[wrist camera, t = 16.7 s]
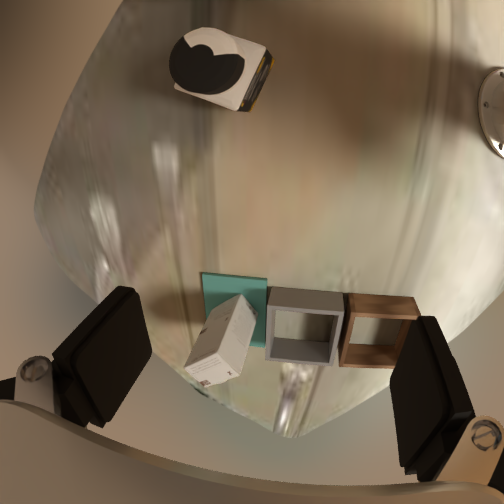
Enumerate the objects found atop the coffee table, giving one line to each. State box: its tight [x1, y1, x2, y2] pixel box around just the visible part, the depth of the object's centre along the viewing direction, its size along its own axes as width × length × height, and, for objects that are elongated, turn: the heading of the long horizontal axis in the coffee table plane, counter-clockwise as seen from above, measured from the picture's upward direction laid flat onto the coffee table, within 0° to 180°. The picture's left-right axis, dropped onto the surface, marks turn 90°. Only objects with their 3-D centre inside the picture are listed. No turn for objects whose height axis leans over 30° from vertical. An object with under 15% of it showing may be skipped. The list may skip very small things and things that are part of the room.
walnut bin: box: [338, 293, 421, 369], centre depth 39 cm, size 10×10×4 cm
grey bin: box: [265, 287, 344, 366], centre depth 41 cm, size 10×10×4 cm
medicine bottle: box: [169, 27, 274, 112], centre depth 26 cm, size 7×7×12 cm
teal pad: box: [202, 272, 267, 348], centre depth 45 cm, size 9×12×1 cm
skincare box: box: [184, 294, 258, 387], centre depth 39 cm, size 6×4×12 cm
